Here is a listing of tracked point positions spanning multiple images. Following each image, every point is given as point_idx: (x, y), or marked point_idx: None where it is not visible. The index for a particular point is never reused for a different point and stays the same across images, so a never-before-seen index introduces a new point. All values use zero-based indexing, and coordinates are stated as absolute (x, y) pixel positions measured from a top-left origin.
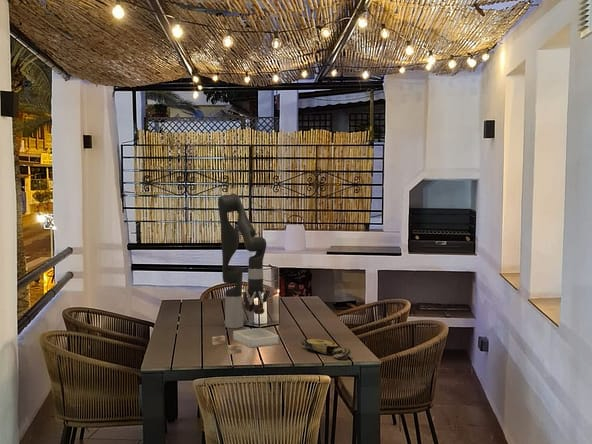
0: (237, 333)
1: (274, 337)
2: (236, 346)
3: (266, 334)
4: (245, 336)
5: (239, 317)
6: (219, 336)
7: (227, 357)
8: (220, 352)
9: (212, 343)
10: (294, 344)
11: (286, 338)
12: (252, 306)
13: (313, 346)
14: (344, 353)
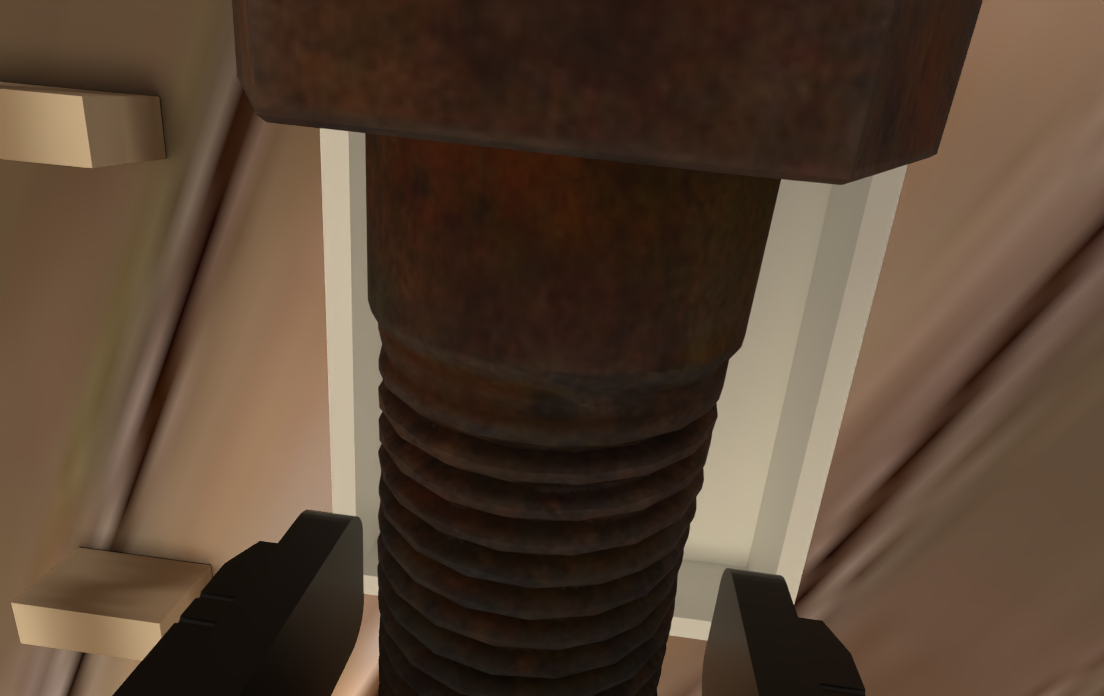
0: (321, 147)
1: (700, 632)
2: (111, 647)
3: (826, 285)
4: (349, 408)
5: None
6: (5, 116)
7: (40, 654)
8: (14, 484)
9: None
10: (900, 668)
11: (1070, 396)
12: (390, 672)
13: None
14: None
